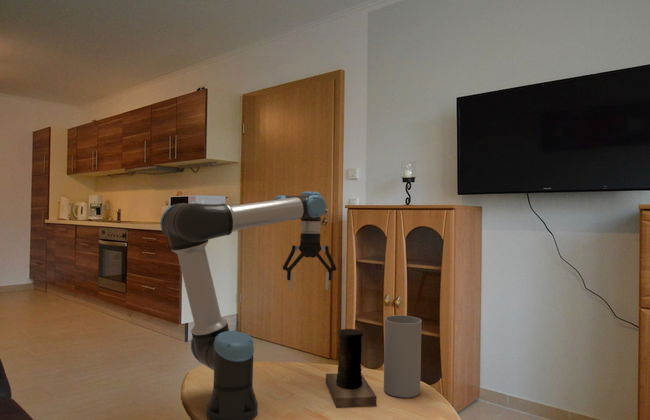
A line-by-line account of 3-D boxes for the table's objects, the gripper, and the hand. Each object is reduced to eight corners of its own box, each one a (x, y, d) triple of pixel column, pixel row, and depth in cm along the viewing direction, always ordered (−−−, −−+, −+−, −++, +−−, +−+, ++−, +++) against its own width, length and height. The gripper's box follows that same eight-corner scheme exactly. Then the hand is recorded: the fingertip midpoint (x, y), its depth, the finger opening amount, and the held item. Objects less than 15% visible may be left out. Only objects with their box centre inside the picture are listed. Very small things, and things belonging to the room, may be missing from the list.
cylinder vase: (387, 382, 166) (388, 314, 166) (421, 387, 162) (423, 317, 162) (380, 395, 154) (382, 321, 154) (418, 401, 150) (419, 325, 150)
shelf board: (336, 407, 143) (336, 398, 143) (325, 382, 165) (326, 373, 165) (376, 406, 145) (376, 396, 145) (360, 381, 167) (361, 372, 167)
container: (336, 379, 160) (337, 327, 160) (361, 380, 160) (362, 328, 160) (335, 388, 151) (337, 334, 151) (362, 389, 151) (364, 335, 151)
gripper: (341, 232, 178) (339, 287, 177) (276, 231, 174) (275, 287, 174) (344, 233, 170) (343, 290, 170) (277, 232, 166) (276, 290, 166)
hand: (309, 289), depth 172 cm, fingers open, 13 cm apart
